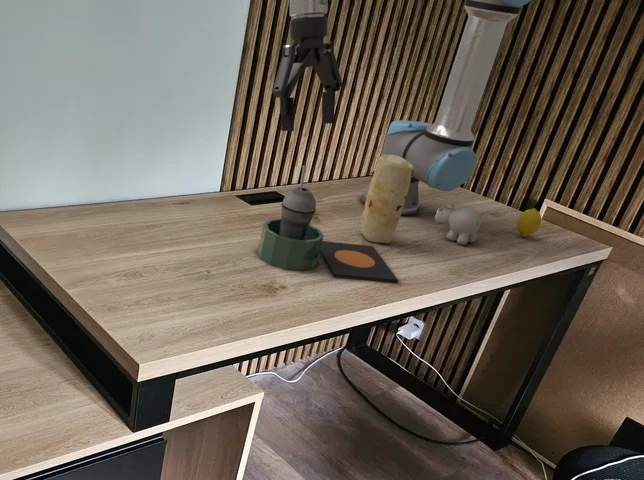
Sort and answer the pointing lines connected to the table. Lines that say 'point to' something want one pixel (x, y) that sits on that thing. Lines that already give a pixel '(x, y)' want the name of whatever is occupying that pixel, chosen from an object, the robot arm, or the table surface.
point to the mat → (355, 262)
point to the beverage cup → (297, 212)
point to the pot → (289, 247)
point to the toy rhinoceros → (460, 223)
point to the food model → (386, 198)
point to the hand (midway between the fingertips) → (308, 127)
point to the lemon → (528, 222)
